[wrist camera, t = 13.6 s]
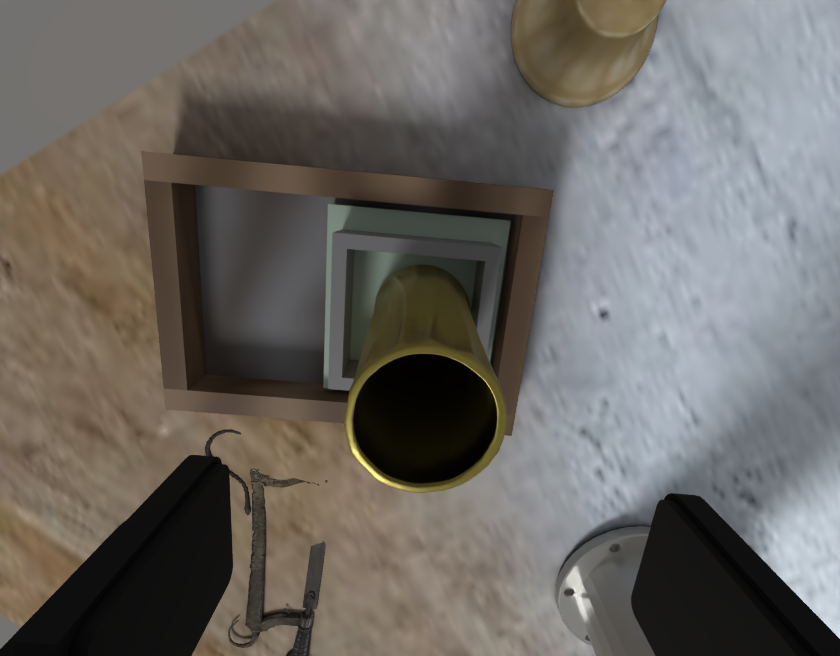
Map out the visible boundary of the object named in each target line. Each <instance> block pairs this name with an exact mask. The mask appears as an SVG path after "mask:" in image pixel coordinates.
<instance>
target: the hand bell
mask: <svg viewBox="0 0 840 656" xmlns="http://www.w3.org/2000/svg"><path fill="white" fill-rule="evenodd" d="M665 3H666V0H516V2H515V5H514V10H513V14H512V21H511V43H512V49H513V54H514V58H515V61H516V64H517V66H518V68H519V71H520V73H521V74H522V76H523V77H524V79H525V80H526V82H527V83H528V85H529V86H530V87H531V88H532V89H533V90H534V91H535V92H536V93H538V94H539V95H540V96H542V97H543V98H545V99H547V100H548V101H551V102H553V103H556V104H558V105H562V106H568V107H583V106H589V105H593V104H596V103H599V102H601V101H604V100H606V99H608V98H610V97H611V96H613V95H615V94H616V93H618V92H619V91H620V90H621V89H623V88H624V87H625V86H626V85H627V84H628V83H629V82H630V81H631V80H632V79H633V78H634V76H635V75H636V74H637V73H638V71H639V70H640V68H641V67H642V65H643V64H644V62H645V60H646V58H647V56H648V54H649V52H650V49H651V46H652V44H653V40H654V37H655V32H656V26H657V17H658V14H659V13H660V11H661V9H662V8H663V6H664V4H665Z"/></svg>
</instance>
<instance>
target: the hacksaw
mask: <svg viewBox="0 0 840 656" xmlns="http://www.w3.org/2000/svg"><path fill="white" fill-rule="evenodd" d="M225 432H233V433H236V434H240V435H241V433H240V432H237V431H234V430H222V431H218V432H217V433H215V434H213V435H212V437H210V438H209V440H208V441H207V443H206V447H205V453H206V456H212V455H211V451H210V445H211V443H212V441H213V439H214V438H215V437H216V436H218V435H220V434H223V433H225ZM254 470H255V471H256V472H257V473H256V472H255V471H252V469H251V470H250V473H251V474H252V475H251V474H250V475H251V477H252V480H253V481H251V485H252V489H253V491H254V492H253V493H252V525H253V527H252V530H253V531H254V534H253V536H252V538H253V540H252V554H251V564H250V568H251V574H250V581H249V590H248V592H249V594H248V603H247V613H246V624H245V625H246V626H247V627H248V628H250V630H251V632H252V635H251V636H253V637H252V639H251V641H250V642H248V643H245V644H238V643H235V642H233V641H232V639H231V637H230V630H231V628H232V627H233V626H234V625H235V624H236V622H237V621H238V620H237V621H236V622H235V623H234V624H233V625H232V626H231V627H230V628H229V631H228V637H229V641H230V642H231V643H232V644H233V645H235V646H237V647H241V648H244V647H250V646H252V645H253V644H254V643H255V642H256V641H257V639H258V636H259V633H260V632H261V631H267V630H268V629H269V628H271V627H274V626H276V625H292V626H298V631H297V635H296V639H295V643H294V646H293V651H292V652H291V653H290V654H289V655H287V656H308V649H309V638H310V632H311V628H312V625H313V624H312V622H313V617H314V614H313V613H311V609H316V608H317V602H318V601H317V600H318V594H319V587H320V581H321V580H320V579H321V577H322V576H321V575H322V574H321V573H322V569H323V568H322V567H323V563H324V562H323V561H324V560H323V559H324V555H325V554H324V553H325V545H326V544H325V543H324V542H323V543H320V544H316V545H313V546H311V550H310V557H309V564H308V572H307V579H306V586H305V594H304V601H303V608H306V613H305V612H302V613H301V614H290V613H289V612H288V611H287V610H286V608H284V610H285V611H286V612H287V613H280V614H275V615H270V616H267V617H265V618H262V608H263V590H264V571H265V551H266V512H265V507H264V506H265V500H264V494H263V493H264V489H263V486H262V484H264V486H267V485H268V486H270V485H271V486H272V487H288V486H291V485H294V484H297V483H302V482H307V481H303V480H299V479H295V478H292V479H288V480H276V479H271V478H268V477H269V476H266V475H263V474H260V473H259V472H258V471H259V470H256V469H254ZM254 472H255V473H254ZM229 474H230V475H231V476H232V477H234V478H235V479H236V480H238V481H239V482H240V483H241V484H242V486H243V488H244V491H245V499H246V501H245V508H244V509H245V513H246V514H247V515H249V513H250V512H251V507H250V498H249V492H248V488H247V486H246V484H245V483H244V481H243V480H242V479H241V478H239V477H238V475H235V474H234V473H233V472H231V471H230V470H229ZM258 474H259V475H258ZM261 475H262V476H261ZM261 477H262V478H261ZM325 482H327V480H326V481H325ZM307 483H310V482H307ZM313 483H314V482H313ZM314 484H315V483H314ZM317 485H318V486H319V484H317ZM288 613H289V614H288Z"/></svg>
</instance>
